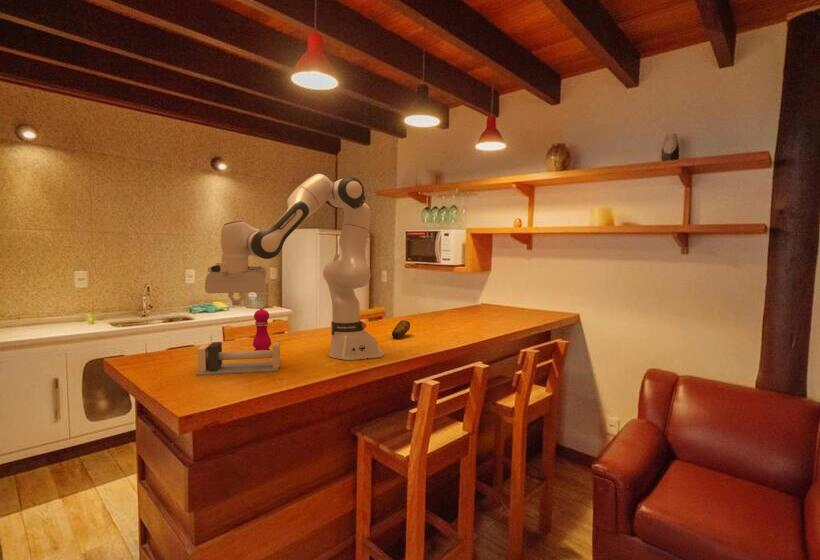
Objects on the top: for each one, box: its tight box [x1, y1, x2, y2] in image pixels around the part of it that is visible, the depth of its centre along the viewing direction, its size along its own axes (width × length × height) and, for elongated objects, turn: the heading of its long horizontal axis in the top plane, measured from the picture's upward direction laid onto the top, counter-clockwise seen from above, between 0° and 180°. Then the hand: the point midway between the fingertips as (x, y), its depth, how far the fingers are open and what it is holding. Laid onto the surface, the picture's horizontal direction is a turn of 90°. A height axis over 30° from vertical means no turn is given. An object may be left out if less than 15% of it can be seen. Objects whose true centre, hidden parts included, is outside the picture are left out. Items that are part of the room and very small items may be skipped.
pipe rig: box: [195, 341, 281, 376], centre depth 159 cm, size 27×12×9 cm, turn 102°
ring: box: [208, 341, 223, 370], centre depth 157 cm, size 3×8×8 cm, turn 12°
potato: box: [391, 320, 411, 339], centre depth 218 cm, size 8×13×8 cm, turn 135°
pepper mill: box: [252, 305, 272, 351], centre depth 181 cm, size 7×7×20 cm
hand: (236, 305), depth 157 cm, fingers closed
